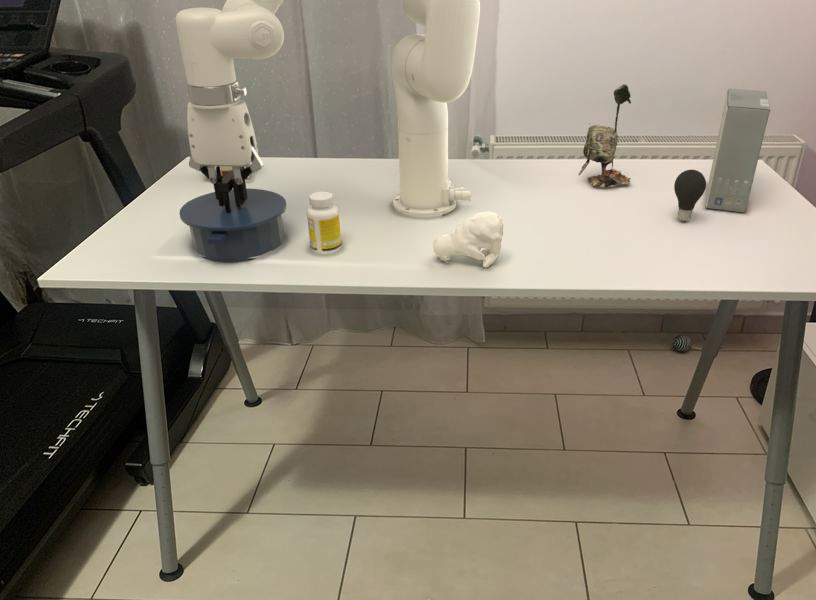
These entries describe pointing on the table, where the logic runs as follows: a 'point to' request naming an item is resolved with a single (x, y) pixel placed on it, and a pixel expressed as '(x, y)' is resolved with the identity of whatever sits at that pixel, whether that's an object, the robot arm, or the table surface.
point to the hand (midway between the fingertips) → (232, 202)
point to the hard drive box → (737, 149)
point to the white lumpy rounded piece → (473, 239)
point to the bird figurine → (605, 147)
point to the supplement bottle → (323, 223)
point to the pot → (238, 242)
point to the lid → (232, 208)
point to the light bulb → (688, 192)
